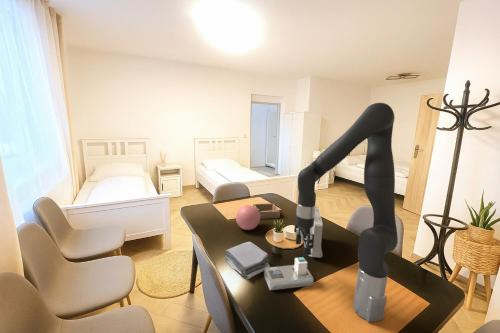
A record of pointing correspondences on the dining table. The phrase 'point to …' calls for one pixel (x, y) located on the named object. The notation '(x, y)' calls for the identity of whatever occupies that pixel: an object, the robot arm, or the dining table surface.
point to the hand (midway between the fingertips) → (302, 249)
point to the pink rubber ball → (248, 217)
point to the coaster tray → (268, 214)
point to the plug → (300, 266)
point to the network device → (316, 234)
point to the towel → (247, 259)
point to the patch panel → (286, 278)
